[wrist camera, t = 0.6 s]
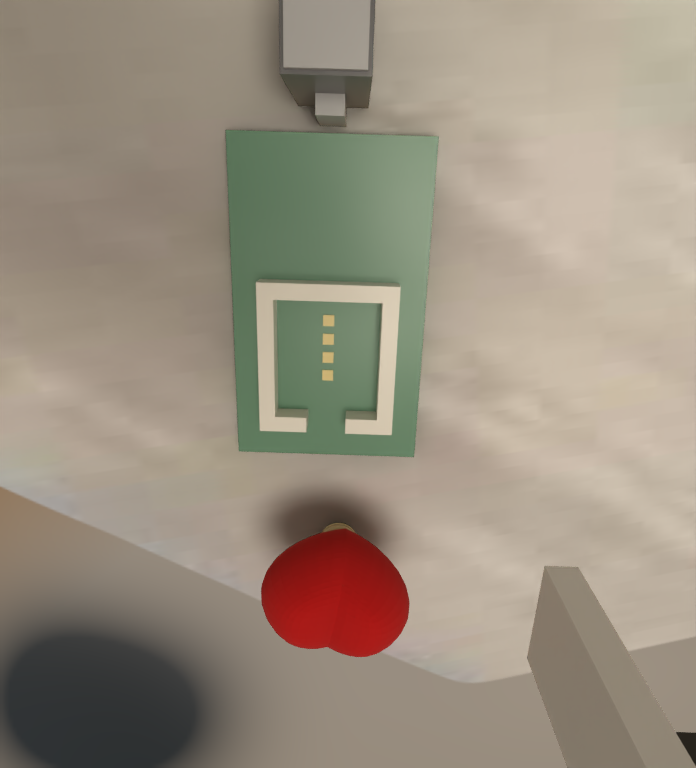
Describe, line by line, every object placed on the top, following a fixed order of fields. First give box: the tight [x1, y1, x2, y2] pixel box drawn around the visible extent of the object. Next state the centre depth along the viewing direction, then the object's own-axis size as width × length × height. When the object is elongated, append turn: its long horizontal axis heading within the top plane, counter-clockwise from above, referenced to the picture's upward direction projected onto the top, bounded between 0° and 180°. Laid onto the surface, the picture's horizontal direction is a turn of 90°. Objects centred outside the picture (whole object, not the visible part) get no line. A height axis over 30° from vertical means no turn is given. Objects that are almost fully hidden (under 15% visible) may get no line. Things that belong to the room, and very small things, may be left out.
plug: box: [279, 0, 375, 127], centre depth 26 cm, size 6×4×8 cm, turn 178°
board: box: [226, 130, 439, 457], centre depth 33 cm, size 20×12×3 cm, turn 178°
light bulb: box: [261, 523, 409, 657], centre depth 35 cm, size 9×7×10 cm
